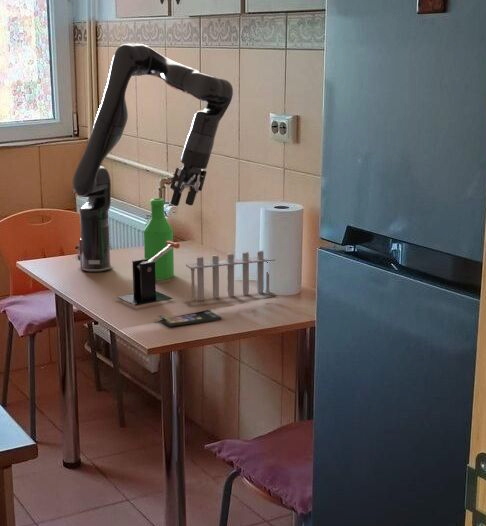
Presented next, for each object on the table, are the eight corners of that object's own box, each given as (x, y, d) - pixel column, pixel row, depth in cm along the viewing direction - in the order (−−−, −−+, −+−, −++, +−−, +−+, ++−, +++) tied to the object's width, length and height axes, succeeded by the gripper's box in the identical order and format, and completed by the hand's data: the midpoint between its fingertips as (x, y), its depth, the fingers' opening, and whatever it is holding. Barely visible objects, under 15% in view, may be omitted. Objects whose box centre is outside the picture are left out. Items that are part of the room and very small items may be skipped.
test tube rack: (191, 306, 255) (190, 259, 252) (185, 302, 259) (185, 256, 256) (275, 297, 261) (275, 251, 258) (269, 293, 265) (269, 248, 262)
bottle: (171, 283, 279) (169, 201, 273) (143, 283, 281) (140, 201, 275) (175, 276, 288) (173, 196, 281) (147, 275, 289) (145, 196, 283)
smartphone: (221, 319, 243) (221, 315, 242) (169, 328, 237) (169, 323, 237) (206, 311, 250) (206, 307, 250) (156, 320, 244) (156, 315, 244)
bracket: (153, 294, 268) (152, 254, 266) (172, 302, 260) (171, 261, 257) (117, 301, 263) (116, 261, 260) (135, 309, 254) (134, 268, 251)
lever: (171, 244, 265) (168, 238, 264) (181, 248, 261) (177, 241, 260) (137, 272, 261) (133, 265, 260) (146, 275, 257) (142, 268, 256)
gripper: (198, 146, 264) (182, 200, 268) (174, 144, 252) (157, 201, 256) (221, 154, 260) (204, 208, 264) (197, 152, 248) (180, 209, 252)
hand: (181, 204), depth 260 cm, fingers open, 8 cm apart
